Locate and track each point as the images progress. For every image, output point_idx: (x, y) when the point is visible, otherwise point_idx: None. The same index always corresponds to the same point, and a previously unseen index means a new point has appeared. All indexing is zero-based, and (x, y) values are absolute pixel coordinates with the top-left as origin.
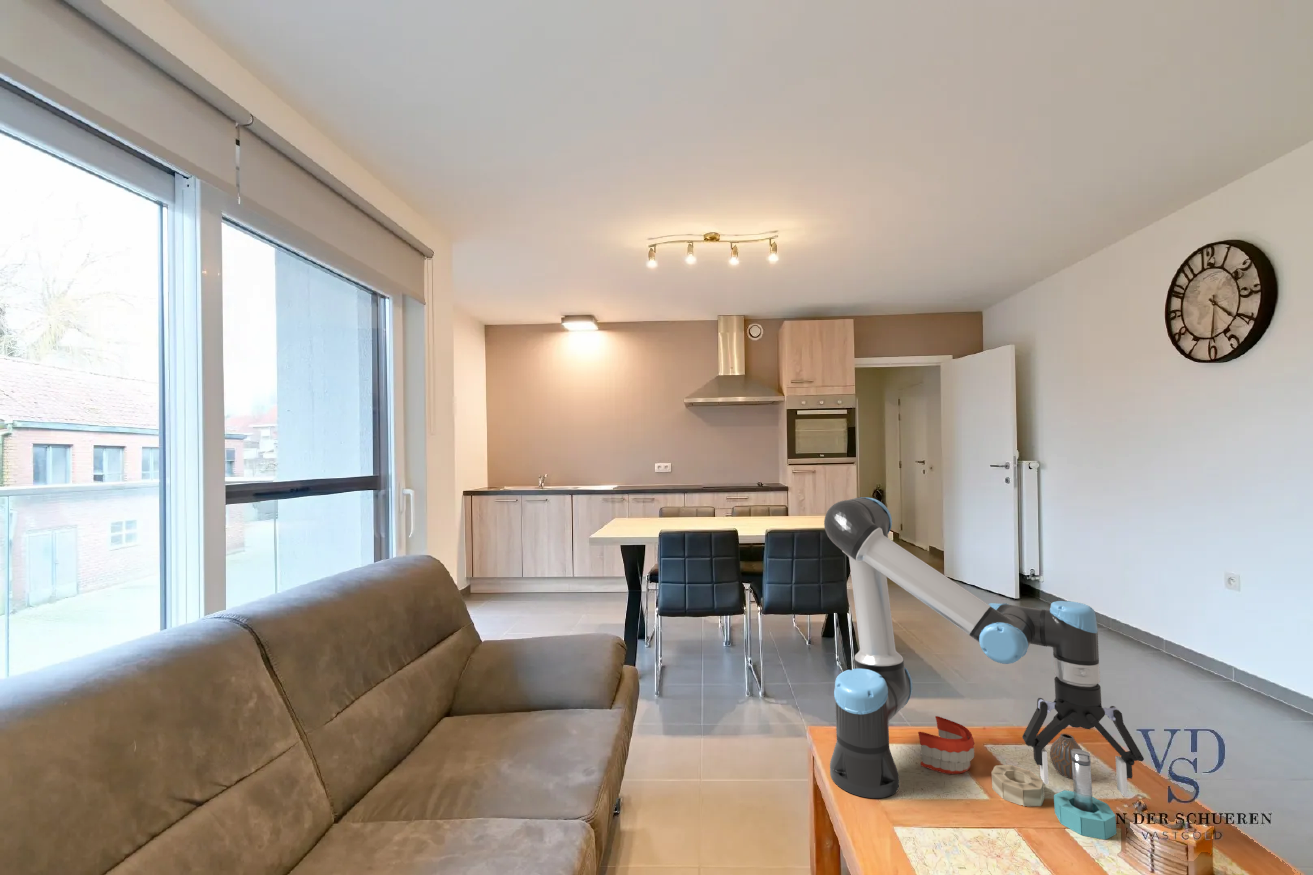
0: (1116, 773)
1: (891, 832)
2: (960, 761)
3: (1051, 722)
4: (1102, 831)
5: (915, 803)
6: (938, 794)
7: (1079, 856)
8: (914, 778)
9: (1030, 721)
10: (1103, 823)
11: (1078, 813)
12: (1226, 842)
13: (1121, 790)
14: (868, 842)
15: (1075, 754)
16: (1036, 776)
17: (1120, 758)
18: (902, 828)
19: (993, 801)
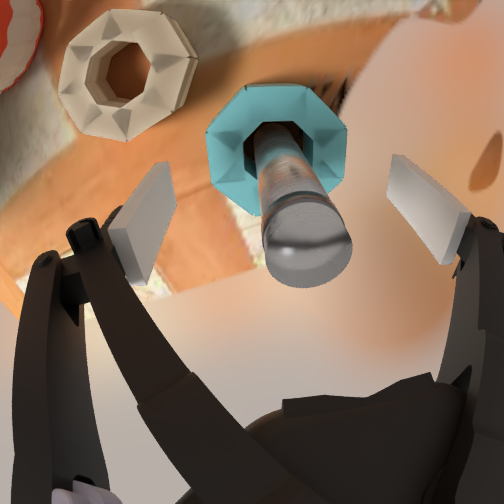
0: (418, 174)
1: (19, 292)
2: (4, 86)
3: (130, 382)
4: None
5: (4, 223)
6: (12, 178)
7: (230, 260)
8: None
9: (20, 347)
10: None
11: (252, 200)
12: (489, 142)
13: (392, 192)
14: (18, 310)
15: (275, 275)
16: (172, 38)
17: (461, 231)
18: (21, 282)
19: (85, 144)
